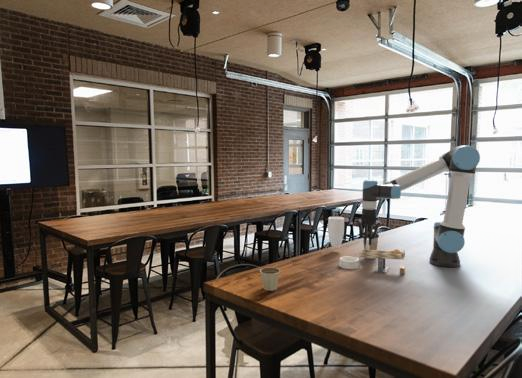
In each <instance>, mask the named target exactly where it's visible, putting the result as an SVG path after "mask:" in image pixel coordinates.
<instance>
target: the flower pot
mask: <svg viewBox="0 0 522 378" xmlns="http://www.w3.org/2000/svg"><path fill="white" fill-rule="evenodd" d="M259 272H260V276H261V279H262V287H263V290H265V291H266V292H267V291H271V292H273V291H277V289H278V283H279V275H280V274H281V273H280V272H281V269H280V268H278V267H274V266H273V267H272V266H271V267H263V268H260V269H259Z"/></svg>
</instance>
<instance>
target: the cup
mask: <svg viewBox="0 0 522 378" xmlns="http://www.w3.org/2000/svg"><path fill="white" fill-rule="evenodd" d="M327 229H328V230H327V231H328V238H329V242H330V244H331V247H332V248H333V249H339V248H340V247H341V245H342V242H343V241H344V240H343V239H344V235H345V217H342V216H329V217H328V221H327Z"/></svg>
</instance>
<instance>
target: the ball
mask: <svg viewBox="0 0 522 378" xmlns="http://www.w3.org/2000/svg"><path fill="white" fill-rule="evenodd" d="M392 251H393V254H400V250H399V249H394V250H392Z"/></svg>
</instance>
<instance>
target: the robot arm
mask: <svg viewBox="0 0 522 378" xmlns="http://www.w3.org/2000/svg"><path fill="white" fill-rule="evenodd" d="M480 161H481V155H480V152H479V150H478V149H477V148H475V147H474V146H471V145H468V144H466V145H459V146H456V147H453V148H452V149H451V150H449V151H447V152H445V153H444V154H442V155H440V156H439V158H437V159H435V160H434V161H431V162H428V163H427V164H424V165H422V166H420V167H418V168H416V169H414V170H412V171H410V172H407V173H405V174H403V175H401V176H399V177H396V178H395V179H392V180H390V181H387V182H385V183H383V184H382V183H381V184H380V183H378V180H377V179H376V180H375V179H365V180H363V183H362V199H361V200H362V201H361V204H362V206H361V207H362V209H361V217H360V218H359V219H357V220H356V223H357V225H358V229H359V234H360V237H361V238H364V239H363V240H364V242H363V246H364V245H366V250H369V247H370V245H371V244H372V239H374V238H375V237H376V233H378V230H379V226H380V225H381V224H382V222H381V221H379V220H378V218H377V208H378V207H377V204H378V202H377V200H378V199H389V200H390V199H391V200H396V199H397V200H398V199H401V196H402V195H401V193H402V191H404V190H407V189H409V188H411V187H414V186H415V185H418V184H421V183H423V182H425V181H427V180H429V179H431V178H434V177H436V176H438V175H439V174H442V173H445V172H448V173H450V175H451V177H450V180H449V181H450V182H449V186H448V193H447V199H446V204H445V211H444V215H443V221H435V222H434V224H433V244H432V245H433V246H432V247H433V249H432V251H431V253H430V256H429V260H428V261H429V263H430V264H431V265H434V266H437V267H443V268H457V267H460V266H461V259H460V257H459V253H458V252H460V251H461V250H462V249H463V248H464V247H465V244H466V243H465V237H464V236H465V231H466V227H465V225H464V224H463V222H464V217H465V212H466V211H465V210H466V207H467V200H468V195H469V189H470V183H471V179H472V176H474V175H476V169H477V166H478V165H479V163H480ZM362 223H363V225H364V229H363V225H362ZM375 224H376V225H375ZM373 225H375V227H374V230H373ZM368 227H369V228H368ZM368 231H369V239H368V238H367V233H368ZM372 232H374V233H373V236H372Z"/></svg>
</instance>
